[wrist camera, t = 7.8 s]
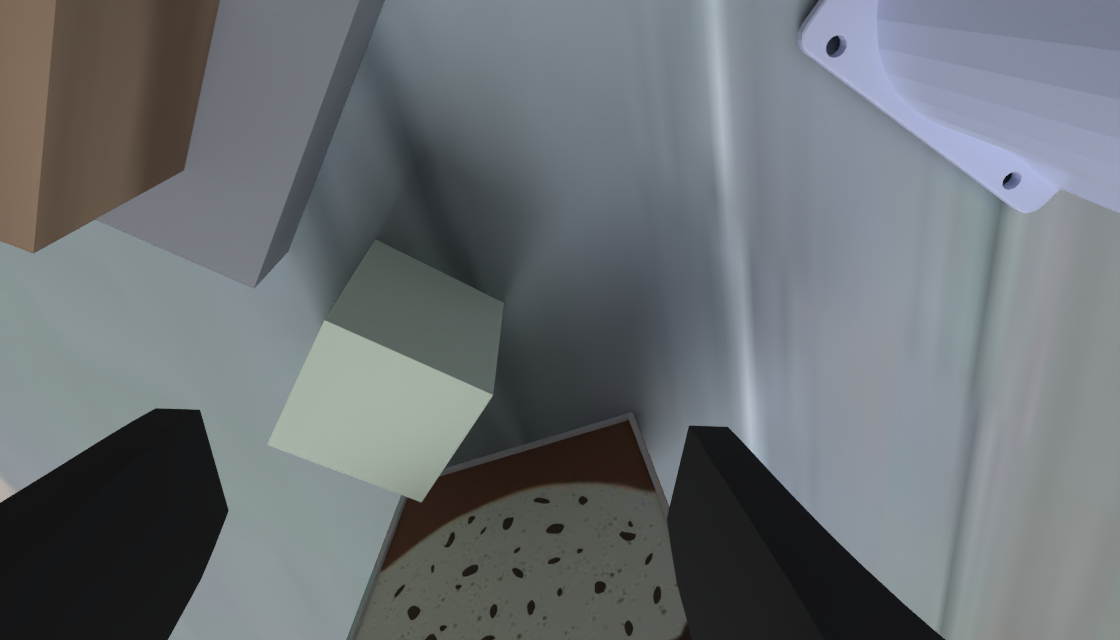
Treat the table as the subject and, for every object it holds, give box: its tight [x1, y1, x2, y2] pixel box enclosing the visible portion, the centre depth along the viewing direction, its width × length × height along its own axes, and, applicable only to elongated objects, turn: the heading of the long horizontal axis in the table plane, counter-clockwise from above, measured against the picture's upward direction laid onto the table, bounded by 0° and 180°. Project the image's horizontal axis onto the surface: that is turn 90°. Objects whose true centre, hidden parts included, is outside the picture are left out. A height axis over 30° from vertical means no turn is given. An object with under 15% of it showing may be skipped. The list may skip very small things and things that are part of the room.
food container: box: [347, 412, 692, 640], centre depth 20 cm, size 12×6×10 cm, turn 110°
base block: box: [95, 0, 385, 288], centre depth 14 cm, size 9×9×3 cm
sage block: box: [267, 239, 504, 502], centre depth 18 cm, size 4×4×5 cm
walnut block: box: [0, 0, 220, 253], centre depth 11 cm, size 4×4×5 cm
